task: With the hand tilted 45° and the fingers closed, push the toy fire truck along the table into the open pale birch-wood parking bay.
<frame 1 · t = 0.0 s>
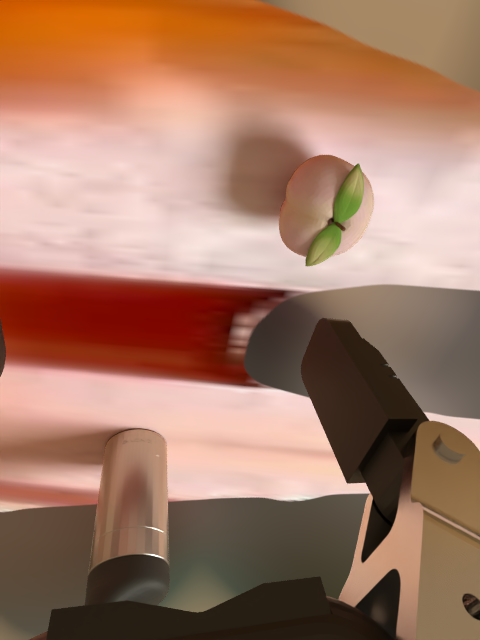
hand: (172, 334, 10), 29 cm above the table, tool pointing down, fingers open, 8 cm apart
decorative fruit: (308, 192, 39), on the table
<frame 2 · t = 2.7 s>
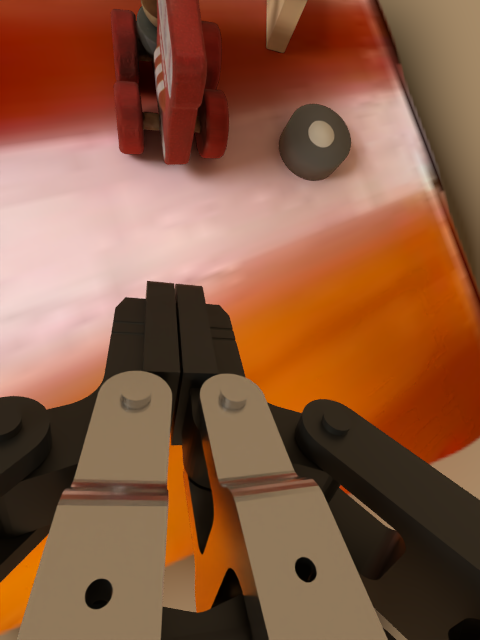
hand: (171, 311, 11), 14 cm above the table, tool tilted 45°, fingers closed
toy fire truck: (165, 108, 27), on the table
spare wheel: (308, 150, 29), on the table
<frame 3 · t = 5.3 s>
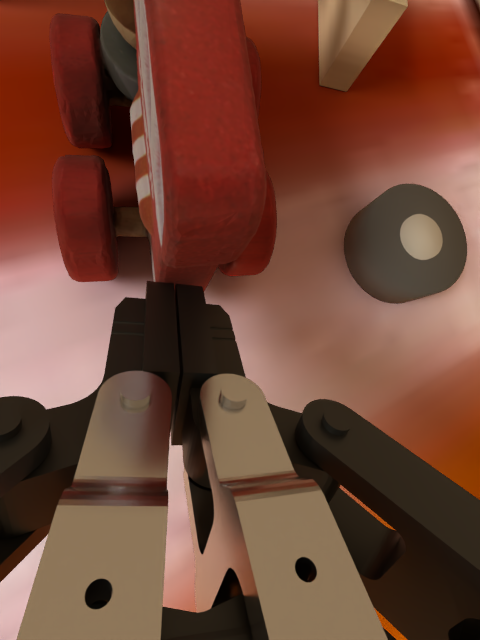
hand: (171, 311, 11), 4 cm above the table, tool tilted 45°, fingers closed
toy fire truck: (160, 181, 16), on the table, touching gripper
spare wheel: (390, 252, 18), on the table
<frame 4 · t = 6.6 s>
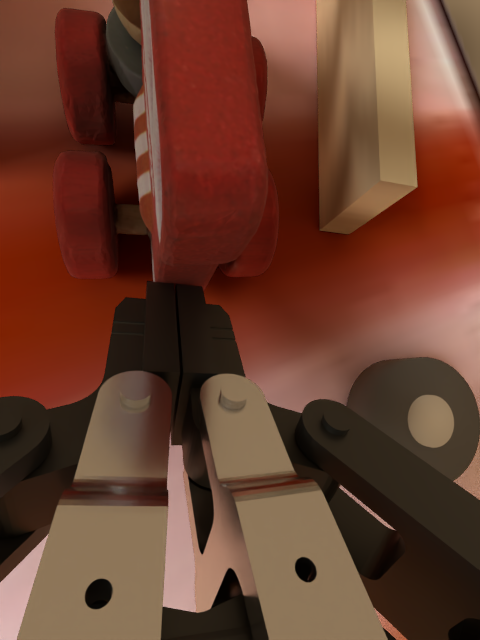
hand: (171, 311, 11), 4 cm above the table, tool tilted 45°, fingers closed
bay: (162, 38, 16), on the table
toy fire truck: (163, 180, 16), on the table, touching gripper
spare wheel: (395, 415, 17), on the table
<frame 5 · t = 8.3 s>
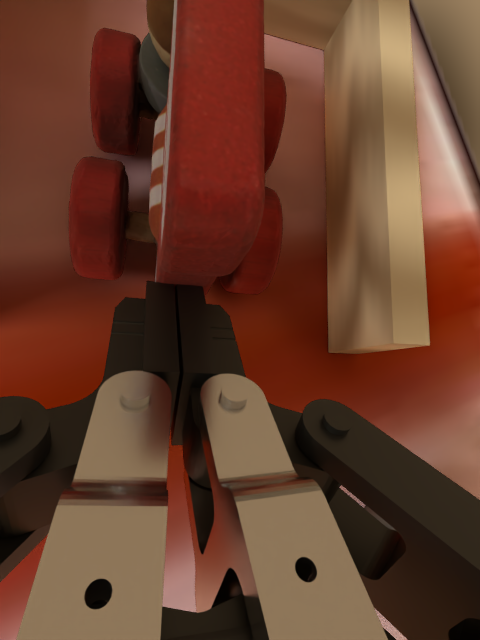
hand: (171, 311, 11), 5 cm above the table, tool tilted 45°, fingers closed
bay: (172, 163, 16), on the table
toy fire truck: (177, 194, 16), on the table, touching gripper
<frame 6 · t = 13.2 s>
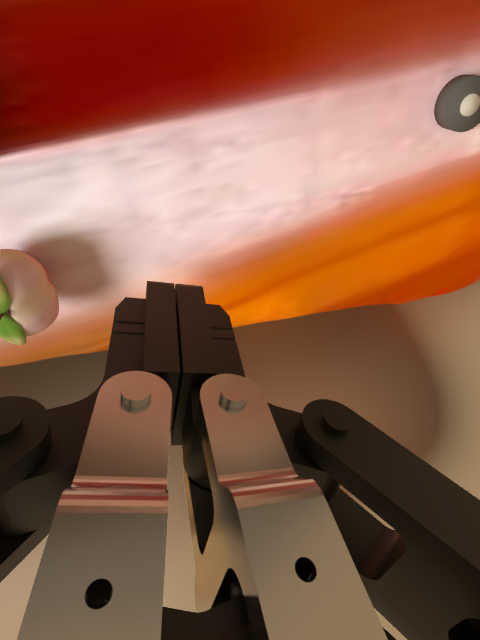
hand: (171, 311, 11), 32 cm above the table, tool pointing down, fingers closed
decorative fruit: (24, 271, 42), on the table
spare wheel: (456, 102, 40), on the table
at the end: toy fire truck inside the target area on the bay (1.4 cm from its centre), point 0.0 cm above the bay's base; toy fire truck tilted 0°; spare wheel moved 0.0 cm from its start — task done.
